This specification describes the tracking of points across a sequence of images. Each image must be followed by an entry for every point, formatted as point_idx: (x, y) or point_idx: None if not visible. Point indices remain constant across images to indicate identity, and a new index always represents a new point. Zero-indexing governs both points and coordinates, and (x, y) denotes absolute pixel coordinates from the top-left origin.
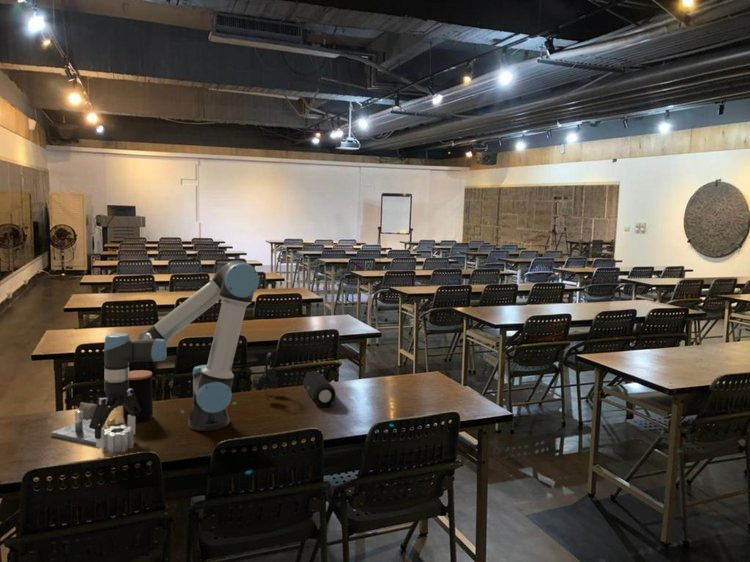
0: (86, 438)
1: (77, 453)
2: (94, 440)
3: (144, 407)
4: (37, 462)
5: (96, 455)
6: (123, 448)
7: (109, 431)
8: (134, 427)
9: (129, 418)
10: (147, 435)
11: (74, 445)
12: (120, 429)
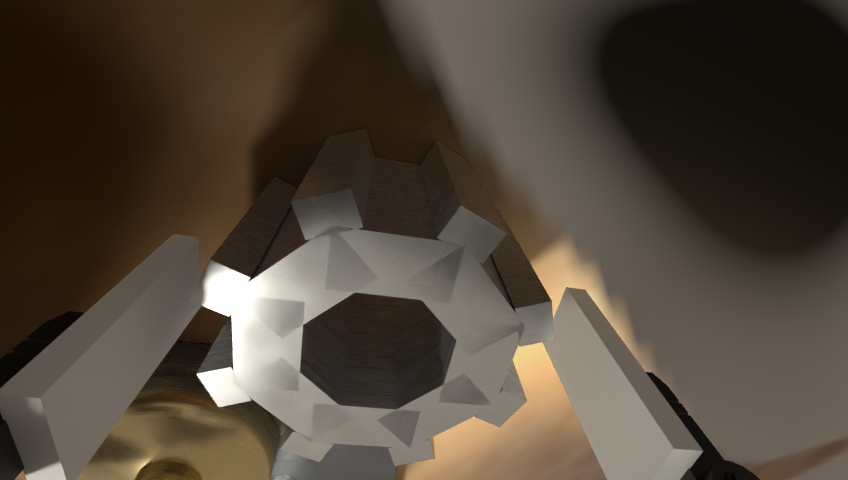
0: (376, 473)
1: (531, 401)
2: None
3: None
4: None
5: None
6: (461, 162)
7: (431, 401)
8: (143, 276)
9: (94, 423)
10: (38, 172)
11: (430, 468)
12: (304, 357)
